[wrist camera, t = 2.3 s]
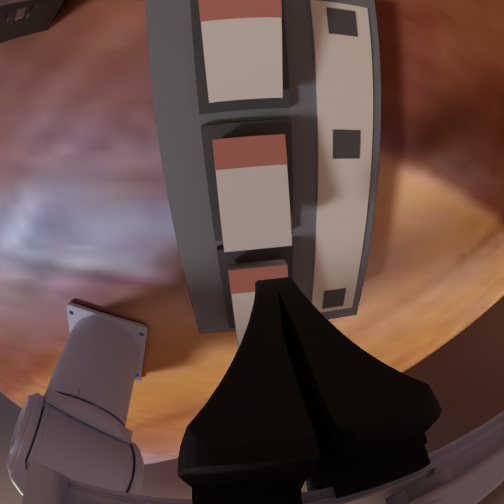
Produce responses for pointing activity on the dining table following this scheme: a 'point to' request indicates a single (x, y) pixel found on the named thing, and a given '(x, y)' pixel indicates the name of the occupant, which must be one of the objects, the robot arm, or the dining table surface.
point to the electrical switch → (26, 17)
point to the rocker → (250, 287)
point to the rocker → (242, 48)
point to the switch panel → (297, 148)
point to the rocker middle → (253, 192)
